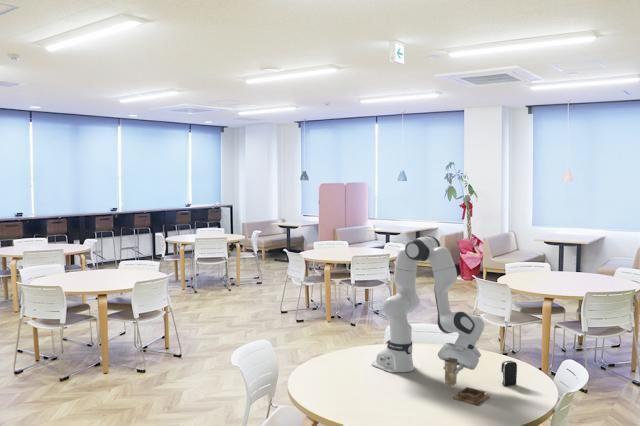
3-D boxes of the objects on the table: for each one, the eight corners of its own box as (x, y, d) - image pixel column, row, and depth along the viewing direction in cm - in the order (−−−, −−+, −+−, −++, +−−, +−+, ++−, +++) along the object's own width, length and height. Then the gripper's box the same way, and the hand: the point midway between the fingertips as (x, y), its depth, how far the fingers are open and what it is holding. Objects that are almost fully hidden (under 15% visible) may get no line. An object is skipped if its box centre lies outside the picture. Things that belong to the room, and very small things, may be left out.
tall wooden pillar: (444, 384, 270) (445, 359, 269) (448, 381, 273) (449, 357, 272) (452, 386, 267) (453, 361, 266) (456, 384, 270) (457, 359, 270)
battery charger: (511, 382, 279) (512, 359, 278) (517, 385, 275) (517, 361, 274) (499, 384, 276) (500, 360, 276) (504, 386, 273) (505, 363, 272)
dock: (452, 398, 259) (452, 392, 258) (465, 390, 268) (465, 385, 268) (477, 405, 251) (477, 399, 251) (489, 397, 260) (489, 391, 260)
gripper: (443, 337, 281) (429, 361, 276) (478, 348, 265) (465, 373, 260) (448, 345, 284) (435, 368, 279) (484, 356, 269) (470, 381, 263)
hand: (450, 371), depth 269 cm, fingers closed on tall wooden pillar, 4 cm apart
